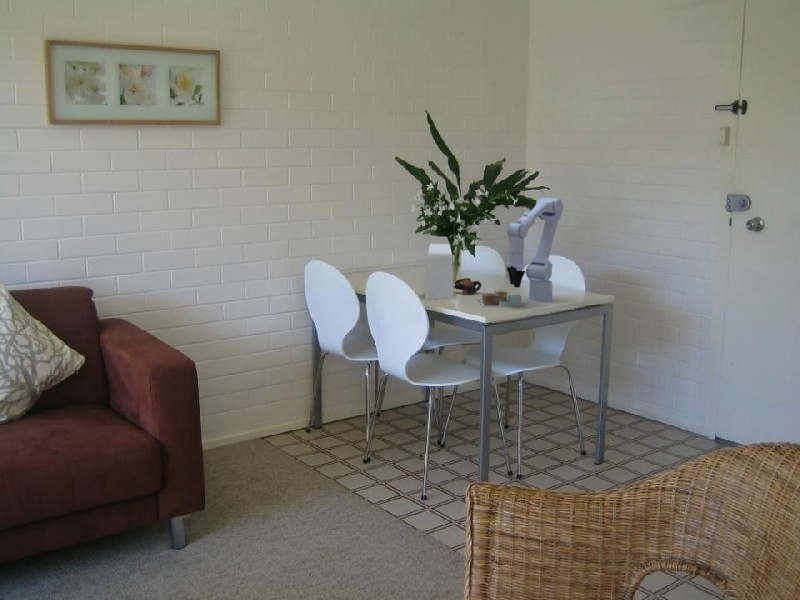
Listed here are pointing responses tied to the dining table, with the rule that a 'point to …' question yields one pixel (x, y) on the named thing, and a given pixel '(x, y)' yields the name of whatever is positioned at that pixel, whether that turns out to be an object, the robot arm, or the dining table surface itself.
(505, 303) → the blueprint mat
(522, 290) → the dining table surface
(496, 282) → the dining table surface
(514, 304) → the teal block
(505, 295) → the oak block
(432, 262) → the milk
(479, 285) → the pottery mug
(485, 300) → the walnut base
